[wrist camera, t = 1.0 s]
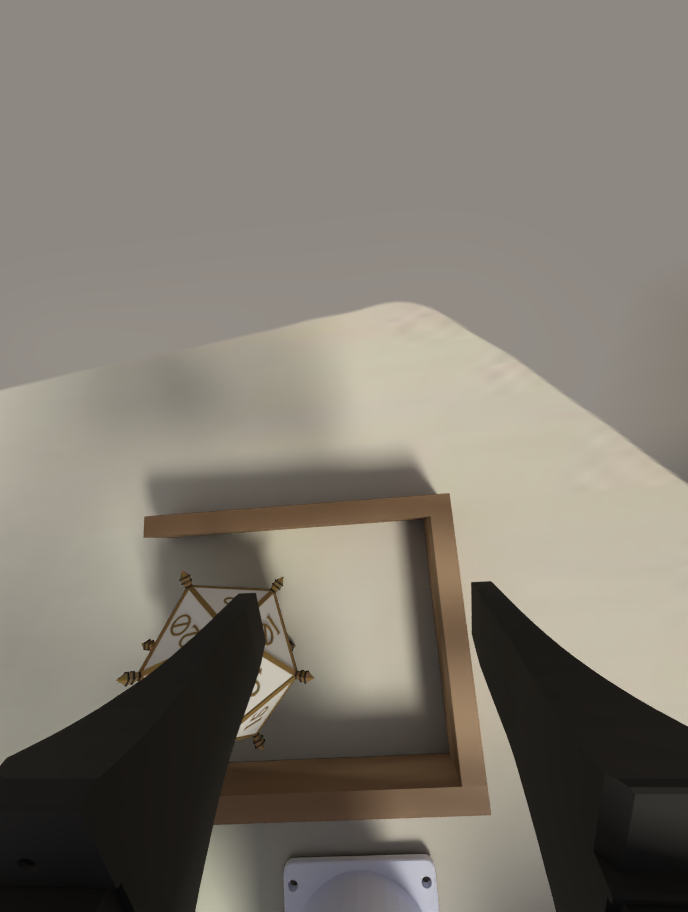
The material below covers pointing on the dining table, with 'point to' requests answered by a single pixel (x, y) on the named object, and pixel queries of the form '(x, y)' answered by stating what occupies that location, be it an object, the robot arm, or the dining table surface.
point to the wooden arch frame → (377, 777)
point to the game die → (277, 657)
